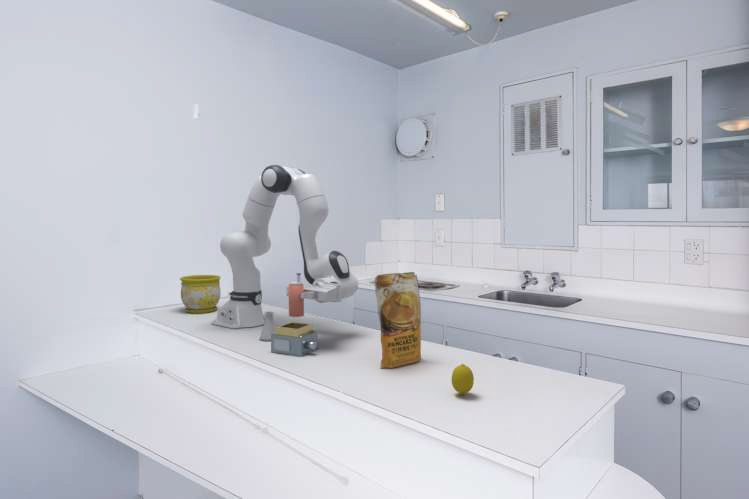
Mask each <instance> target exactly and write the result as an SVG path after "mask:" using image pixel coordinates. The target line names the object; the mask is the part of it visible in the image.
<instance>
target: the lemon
mask: <svg viewBox="0 0 749 499" xmlns="http://www.w3.org/2000/svg"><path fill="white" fill-rule="evenodd" d="M451 374H452V375H451V385H452V387H453V389H454V390H455V391H456V392H458V393H459V395H461V396H464V395H465V394H467V393H468V392H470V391H471V390H472V388H473V386H474V380H475V378H474V377H475V376H474V373H473V371H472V369H471V368H470V367H469V366H467V365H465V364H464V363H461V364H459V365H457V366H455V368H454V369H453V370H452V373H451Z"/></svg>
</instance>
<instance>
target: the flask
mask: <svg viewBox="0 0 749 499" xmlns="http://www.w3.org/2000/svg"><path fill="white" fill-rule="evenodd" d="M264 315H265V318H264V321H265V323H264V324H263V328H262V330H261V334H260V336H259V339H258V340H259V341H264V342H266V341H267V342H268V341H269V342H271V334H273V332H276V330H275V327H276V325H275V322H274V321H275V320H274V316H273V315H274V311H265V312H264Z"/></svg>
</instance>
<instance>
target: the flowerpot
mask: <svg viewBox="0 0 749 499" xmlns="http://www.w3.org/2000/svg"><path fill="white" fill-rule="evenodd" d="M179 280H180V281H181V283H180V284H181V288H180V298H181V302H182V303H183V305H184V307H185V309H184V310H185V311H186V312H187V313H189V314H198V315H199V314H208V313H212V312H215V311H216V309H217V308H218V306H217V304H219V301H220V299H221V285H220V284H221V282H220V280H221V276H220V275H216V274H215V275H214V274H195V275H185V276H181V277H180V278H179Z"/></svg>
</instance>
